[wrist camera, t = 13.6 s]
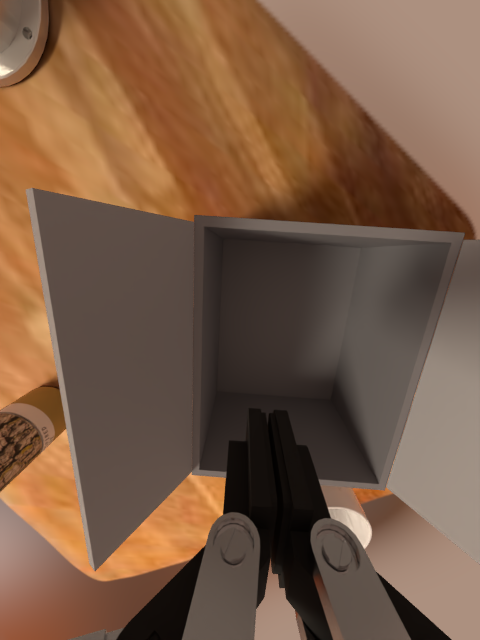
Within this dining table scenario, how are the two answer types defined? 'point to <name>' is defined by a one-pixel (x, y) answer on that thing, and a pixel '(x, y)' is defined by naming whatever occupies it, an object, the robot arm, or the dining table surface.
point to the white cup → (348, 511)
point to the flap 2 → (448, 417)
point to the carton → (313, 337)
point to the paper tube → (28, 430)
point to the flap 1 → (119, 354)
